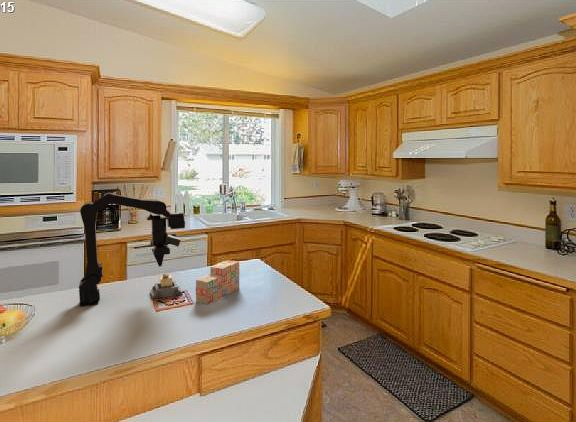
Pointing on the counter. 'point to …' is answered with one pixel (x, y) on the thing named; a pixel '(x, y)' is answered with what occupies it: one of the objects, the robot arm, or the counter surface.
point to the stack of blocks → (218, 282)
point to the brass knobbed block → (165, 281)
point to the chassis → (165, 291)
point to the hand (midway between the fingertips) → (160, 266)
